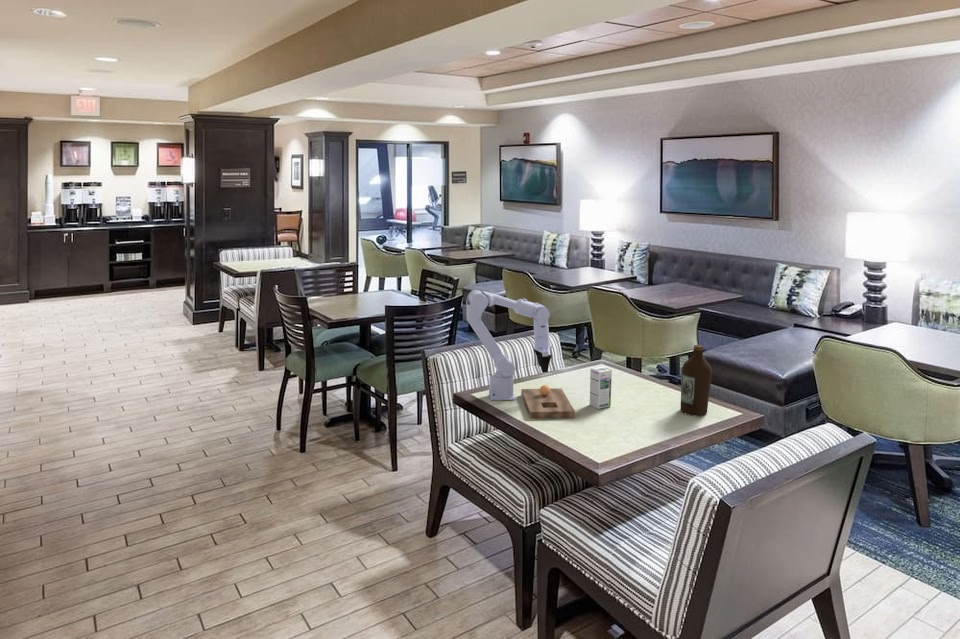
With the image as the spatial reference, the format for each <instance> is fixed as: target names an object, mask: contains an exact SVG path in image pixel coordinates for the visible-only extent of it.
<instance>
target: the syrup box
mask: <svg viewBox="0 0 960 639" xmlns="http://www.w3.org/2000/svg"><path fill="white" fill-rule="evenodd" d="M589 371H590V373H589V374H590V377H589V378H590V379H589V405H590V406H591V407H593V408H595V409H597V410H600V409H604V408H605V409H606V408H611V405H612V404H611V403H612V372H613V370H612V369H610V368H608V367H605V366H600V367H599V366H598V367H594V368H590V370H589Z"/></svg>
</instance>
